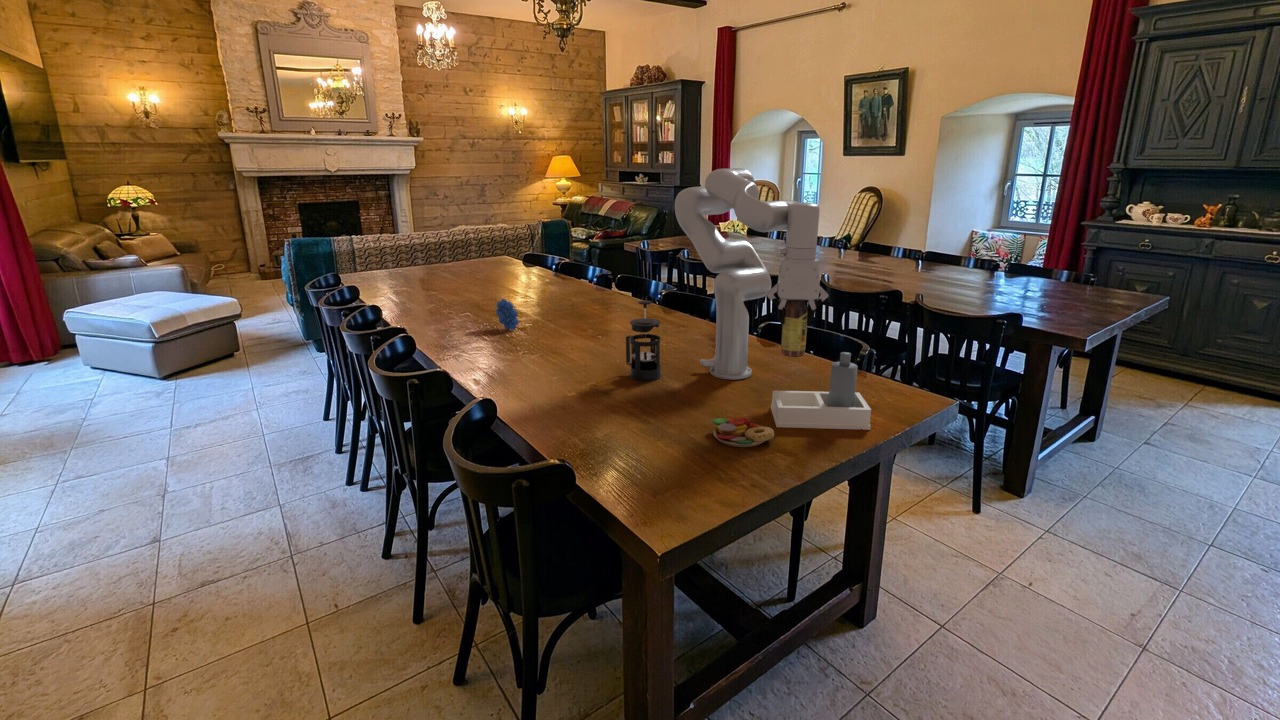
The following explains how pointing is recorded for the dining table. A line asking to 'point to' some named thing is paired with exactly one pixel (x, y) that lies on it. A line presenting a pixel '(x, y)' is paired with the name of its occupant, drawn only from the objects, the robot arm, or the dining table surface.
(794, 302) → the sauce bottle
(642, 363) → the french press
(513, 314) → the grapes
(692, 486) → the dining table surface
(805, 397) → the condiment caddy
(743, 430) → the toy food set
